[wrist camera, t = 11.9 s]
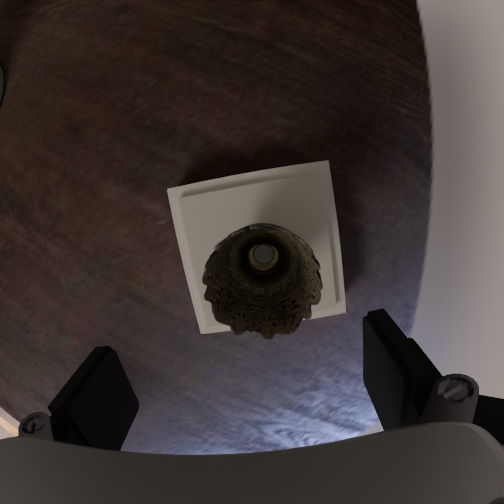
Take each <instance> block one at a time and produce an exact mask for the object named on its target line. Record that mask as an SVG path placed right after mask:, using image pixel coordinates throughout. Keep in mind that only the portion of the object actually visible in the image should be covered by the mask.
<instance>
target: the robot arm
mask: <svg viewBox="0 0 504 504" xmlns="http://www.w3.org/2000/svg"><path fill="white" fill-rule="evenodd" d="M3 84H4V80H3V71H2V68H1V66H0V102H1V98H2V93H3ZM363 380H364V384H365V387H366V389H367V391H368V394H369V396H370V398H371V401H372V403H373V405H374V408H375V410H376V412H377V415H378V417H379V420H380V422H381V424H382V427H383V429H384V431H382V432H378V433H373V434H369V435H364V436H359V437H354V438H349V439H345V440H340V441H335V442H329V443H324V444H318V445H312V446H305V447H299V448H291V449H284V450H275V451H265V452H254V453H239V454H217V455H173V454H151V453H137V452H126V451H120V449H121V447H122V445H123V442H124V440H125V438H126V436H127V434H128V431H129V429H130V427H131V425H132V423H133V420H134V418H135V416H136V414H137V412H138V409H139V402H138V399H137V397H136V395H135V393H134V391H133V389H132V387H131V385H130V382H129V380H128V378H127V376H126V374H125V371H124V369H123V367H122V364H121V362H120V360H119V357H118V355H117V353H116V351H115V350H113V349H112V348H111V347H110V346H101V347H96V348H95V349H94V350H93V351H92V352H91V353H90V355H89V356H88V357H87V358H86V359H85V361H84V362H83V363H82V364H81V366H80V367H79V368H78V369H77V370H76V372H75V373H74V374H73V375H72V377H71V378H70V379H69V380H68V382H67V383H66V384H65V385H64V387H63V388H62V389H61V390H60V392H59V393H58V394H57V396H56V397H55V398H54V399H53V401H52V402H51V403H50V405H49V406H48V409H49V411H50V412H51V414H52V415H51V416H50V417H49V416H48V415H47V414H46V413H44V412H36V413H32V414H30V415H28V416H27V417H25V418H24V419H23V420H22V421H21V423H20V425H19V429H18V430H19V436H17V437H10V438H5V439H1V440H0V504H504V399H500V398H495V397H489V396H483V395H479V387H478V384H477V382H476V381H475V380H474V379H473V378H471V377H469V376H467V375H463V374H449V375H446V376H442V375H441V374H440V372H439V371H438V370H437V368H436V367H435V366H434V365H433V363H432V362H431V361H430V359H429V358H428V357H427V356H426V354H425V353H424V352H423V350H422V349H421V348H420V347H419V345H418V344H417V343H416V342H415V340H413V339H412V338H407V337H406V336H405V335H404V333H403V332H402V331H401V329H400V328H399V327H398V326H397V324H396V323H395V322H394V321H393V319H392V318H391V317H390V316H389V314H388V313H387V312H386V311H385V310H384V309H379V310H374V311H369V312H368V314H367V316H365V317H363Z"/></svg>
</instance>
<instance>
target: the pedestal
mask: <svg viewBox="0 0 504 504" xmlns="http://www.w3.org/2000/svg"><path fill="white" fill-rule="evenodd" d="M167 192H168V197H169V202H170V207H171V212H172V217H173V221H174V226H175V231H176V235H177V240H178V244H179V248H180V253H181V257H182V261H183V266H184V270H185V274H186V278H187V282H188V286H189V290H190V294H191V298H192V302H193V306H194V309H195V313H196V317H197V321H198V324H199V328H200V332H201V334H205V333H215V332H223V331H231V329H230V326H228V325H223V324H221V323H219V322H217V321H216V320H215V318H214V316H213V313H212V307H211V303H210V302H208V301H205V299H204V293H205V291H206V288H207V286H206V285H204V284H203V283H202V277H203V273H204V271H205V270H206V269H205V264H206V262H207V260H208V259H209V257H210V255H211V254H212V253H213V252H214V247H215V246H216V245H217V244H218V243H219V242H221V241H222V240H223V239H225V238H226V237H227V236H228V235H229V234H231V233H232V232H234V231H237V230H239V229H240V228H243V227H245V226H248V225H251V224H256V223H270V224H275V225H279V226H281V227H284V228H286V229H287V230H289V231H291V232H293V233H294V234H295V235H297V236H299V237H300V238H301V239H302V240H304V241H305V242H306V243H307V244H308V245H309V246H310V247H311V249H312V250H313V252H314V255H315V257H316V259H317V260H318V262H319V263H320V267H321V268H320V269H321V270H319V273H320V274H321V280H322V285H323V288H322V289H321V291H320V292H321V300H320V302H319V304H318V305H311V311H312V317H311V318H310V319H314V318H320V317H325V316H331V315H336V314H342V313H346V305H345V292H344V280H343V269H342V258H341V249H340V240H339V231H338V223H337V215H336V208H335V200H334V193H333V187H332V180H331V174H330V167H329V161H328V160H327V161H319V162H312V163H305V164H298V165H291V166H285V167H279V168H272V169H266V170H260V171H255V172H249V173H243V174H238V175H232V176H227V177H222V178H217V179H212V180H207V181H202V182H197V183H192V184H188V185H183V186H179V187H174V188H170V189H167ZM254 257H255V259H256V260H257V261H258V262H259V263H268V262H270V261H271V260H272V258H273V250H272V248H271V247H269V246H268V245H260V246H258V247H257V248H256V249H255V251H254ZM302 320H305V318H303V319H302Z"/></svg>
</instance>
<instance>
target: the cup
mask: <svg viewBox="0 0 504 504" xmlns="http://www.w3.org/2000/svg"><path fill="white" fill-rule="evenodd" d="M260 245H268V246H269V247H271V248H272V250H273V258H272V260H271V261H270V262H268V263H259V262H258V261H257V260H256V259H255V257H254V251H255V249H256V248H257V247H258V246H260ZM320 268H321V267H320V263H319V262H318V260H317V259H316V257H315V255H314V252H313V250H312V249H311V247H310V246H309V245H308V244H307V243H306V242H305V241H304V240H302V239H301V238H300V237H299V236H297V235H295V234H294V233H293V232H291V231H289V230H287V229H286V228H284V227H281V226H279V225H275V224H270V223H256V224H251V225H248V226H245V227H243V228H240V229H239V230H237V231H234V232H232V233H231V234H229V235H228V236H227V237H226V238H225V239H223V240H222V241H221V242H219V243H218V244H217V245H216V246H215V247H214V252H213V253H212V254H211V255H210V257H209V259H208V260H207V262H206V264H205V269H206V270H205V271H204V273H203V277H202V283H203V284H204V285H206V286H207V288H206V291H205V293H204V299H205V301H208V302H210V303H211V307H212V313H213V316H214V318H215V320H216V321H217V322H219V323H221V324H223V325H228V326H230V329H231V331H232V332H233V333H234V334H235V335H241V334H243V333H244V331H246V330H248V331H250V332H251V333H255V332H259V333H261V335H262V336H261V337H262V338H263V339H271V338H273V337H274V335H275V334H278V335H288V334H292V333H293V332H294V331H295V330H296V329H297V327H298V326H299V324H300V322H301V321H302V319H303V318H305V320H308V319H310V318H311V317H312V311H311V305H318V304H319V302H320V300H321V292H320V291H321V289H322V288H323V285H322V280H321V274H320V273H319V270H321V269H320Z"/></svg>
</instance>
